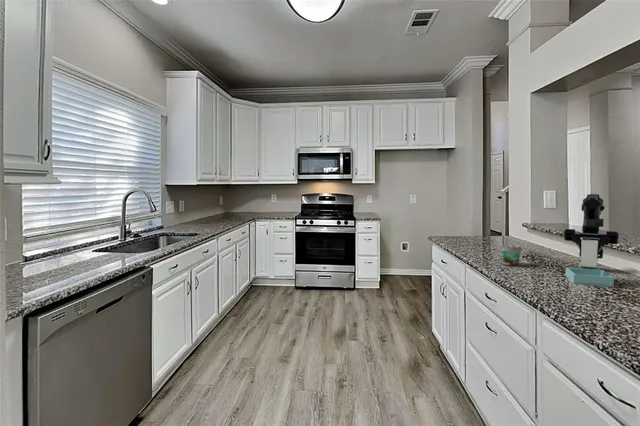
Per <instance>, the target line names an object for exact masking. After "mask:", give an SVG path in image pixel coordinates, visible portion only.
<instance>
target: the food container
mask: <svg viewBox="0 0 640 426" xmlns="http://www.w3.org/2000/svg"><path fill="white" fill-rule="evenodd" d="M521 251H523V249H522V247H521V245H519V244H513V246H502V263H503V266H504V267H519V266H520V257H521Z"/></svg>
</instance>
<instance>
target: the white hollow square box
mask: <svg viewBox="0 0 640 426" xmlns="http://www.w3.org/2000/svg"><path fill="white" fill-rule="evenodd" d="M581 245H582V246H581V257H580V266H581V267H590V268H597V269H598V258H597V248H598V241H595V240H583V239H581Z"/></svg>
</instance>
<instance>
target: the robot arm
mask: <svg viewBox="0 0 640 426" xmlns="http://www.w3.org/2000/svg"><path fill="white" fill-rule="evenodd" d="M604 210H605V205H604V199H603V198H601V197H600V194H598V193H596V194H595V193H593V194H592V193H590V194H589V193H588V194H586V197H585V198H584V199H582V204H581V211H582V212H583V222H582V229H581V230H582V231H577V230H576V228H574V229H573V228H565V229H564V232H563V237H564V241H567V242H572V243H574V244H576V246H577V248H578V249H579V258H581V246H582V240H595V241H598V248H597V259H600V260H601V259H603V258H604V246H608V245H618V244H619V232H618V231H611V230H606V232H605V234H602V233H600V228H603V227H604V218H600V215H602V212H604ZM581 238H582V239H581ZM579 268H582V269H597V270H600V269H599V268H598V267H597V268H590V267H581V265H580V266H579Z"/></svg>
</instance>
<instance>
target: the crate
mask: <svg viewBox="0 0 640 426" xmlns="http://www.w3.org/2000/svg"><path fill="white" fill-rule="evenodd" d="M597 269H598V268H597ZM597 269H582V268H580V267H565V277H566V278H567V279H568V280H569V281H570V282H571V283H572V284H573V285H583V286H584V285H586V286H597V287H609V288H613V287H614V283H615V279H614V278H615V277H614V276H612V275H611V274H610V273H608V272H606V271H605V270H603V269H599V270H597Z"/></svg>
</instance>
